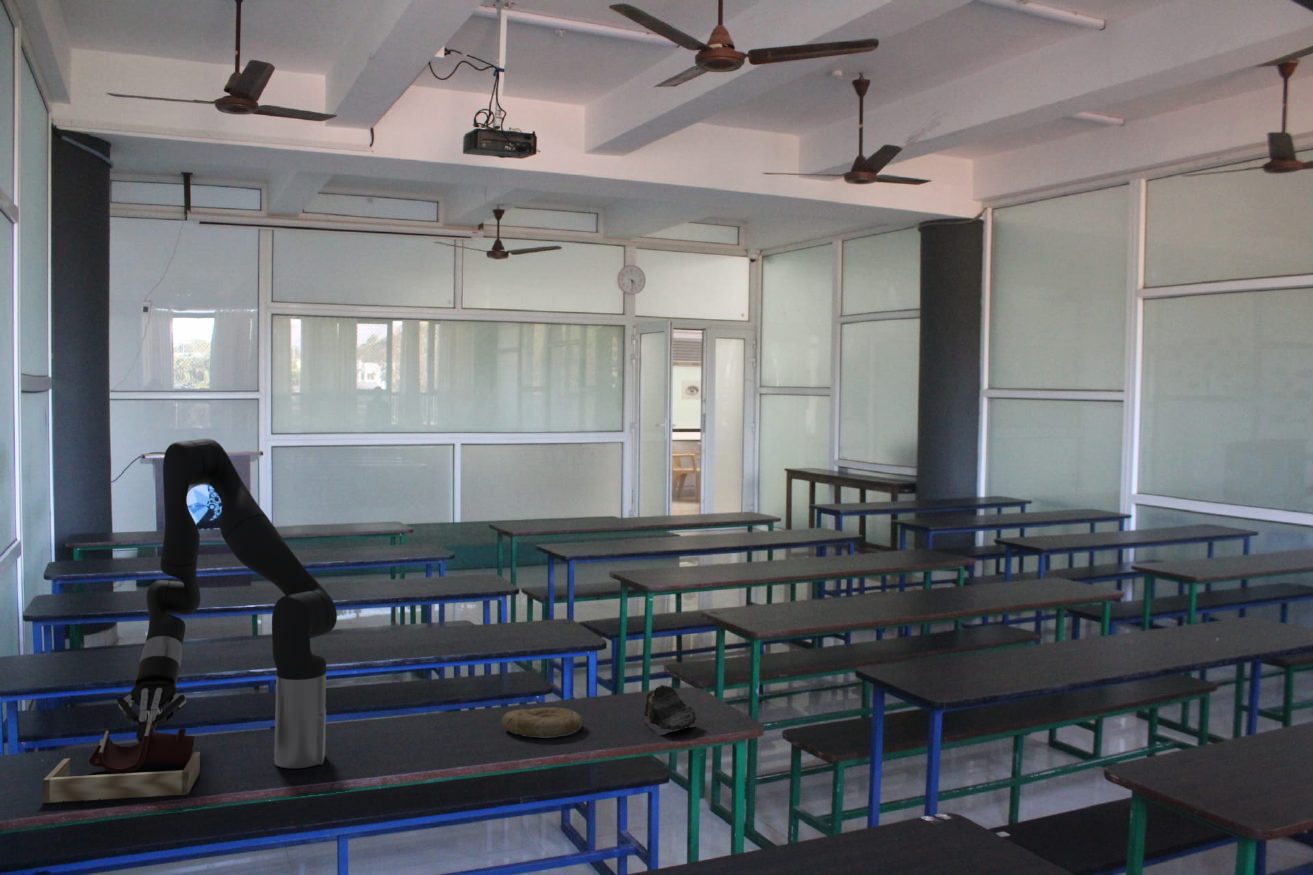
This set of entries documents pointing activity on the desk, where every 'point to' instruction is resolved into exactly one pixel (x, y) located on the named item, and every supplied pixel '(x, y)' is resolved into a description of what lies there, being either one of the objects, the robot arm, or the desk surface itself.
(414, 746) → the desk surface
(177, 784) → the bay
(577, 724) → the brown thick ring
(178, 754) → the bracket
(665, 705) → the rock
